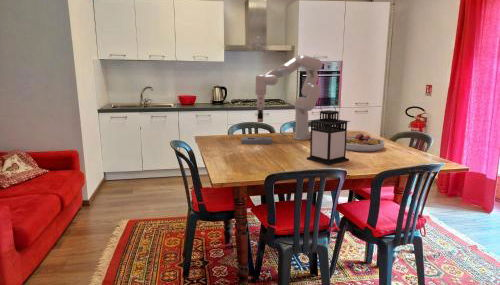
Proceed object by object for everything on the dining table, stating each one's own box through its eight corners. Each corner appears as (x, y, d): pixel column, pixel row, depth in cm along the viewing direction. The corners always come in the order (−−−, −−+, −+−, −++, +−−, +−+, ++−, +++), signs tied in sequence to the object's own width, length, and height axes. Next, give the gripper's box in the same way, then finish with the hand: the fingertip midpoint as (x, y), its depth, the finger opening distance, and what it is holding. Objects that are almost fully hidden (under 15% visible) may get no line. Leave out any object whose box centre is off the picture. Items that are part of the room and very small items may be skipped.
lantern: (348, 160, 213) (351, 100, 206) (328, 165, 203) (331, 102, 196) (326, 155, 227) (328, 98, 220) (306, 159, 217) (308, 100, 210)
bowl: (387, 153, 230) (388, 141, 229) (338, 152, 236) (339, 140, 235) (380, 144, 259) (381, 133, 257) (337, 142, 265) (337, 132, 263)
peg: (262, 121, 265) (263, 107, 263) (263, 122, 261) (263, 108, 259) (257, 121, 265) (257, 107, 263) (257, 122, 261) (257, 108, 259)
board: (271, 141, 271) (271, 137, 271) (272, 144, 261) (272, 139, 260) (242, 141, 272) (242, 137, 271) (241, 144, 261) (241, 139, 261)
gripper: (266, 93, 251) (265, 119, 254) (265, 92, 267) (265, 116, 271) (255, 93, 251) (254, 119, 254) (255, 91, 267) (254, 116, 271)
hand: (260, 118), depth 262 cm, fingers closed on peg, 4 cm apart
